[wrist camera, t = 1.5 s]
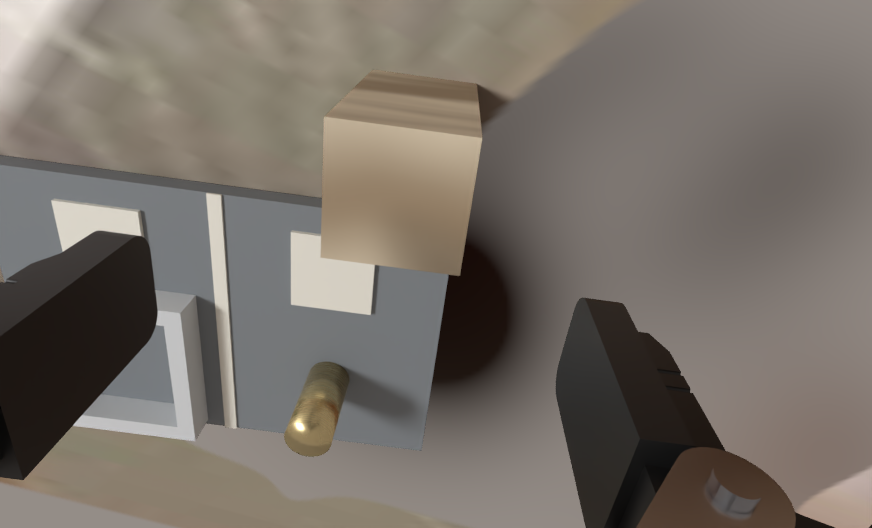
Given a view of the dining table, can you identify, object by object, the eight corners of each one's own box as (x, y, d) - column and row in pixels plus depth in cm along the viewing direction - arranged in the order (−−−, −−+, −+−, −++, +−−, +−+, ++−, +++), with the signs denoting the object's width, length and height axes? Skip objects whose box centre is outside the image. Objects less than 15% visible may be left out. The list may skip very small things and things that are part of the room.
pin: (308, 358, 26) (284, 418, 22) (350, 364, 26) (331, 425, 22) (308, 390, 27) (284, 453, 23) (348, 396, 27) (330, 459, 23)
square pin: (372, 69, 21) (323, 116, 14) (476, 84, 21) (482, 138, 14) (366, 170, 22) (320, 257, 15) (461, 182, 23) (459, 276, 15)
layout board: (-12, 153, 23) (-63, 172, 21) (456, 216, 23) (455, 241, 21) (52, 389, 29) (18, 423, 27) (422, 436, 29) (419, 473, 27)
